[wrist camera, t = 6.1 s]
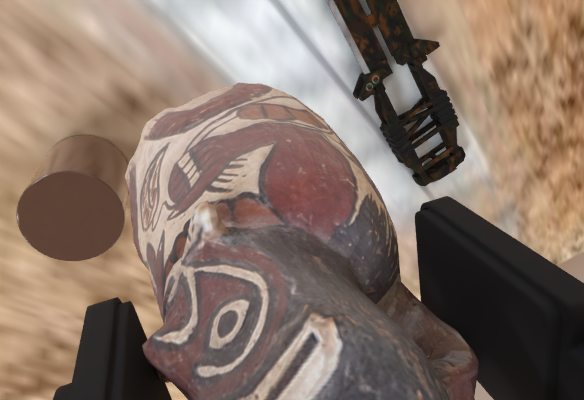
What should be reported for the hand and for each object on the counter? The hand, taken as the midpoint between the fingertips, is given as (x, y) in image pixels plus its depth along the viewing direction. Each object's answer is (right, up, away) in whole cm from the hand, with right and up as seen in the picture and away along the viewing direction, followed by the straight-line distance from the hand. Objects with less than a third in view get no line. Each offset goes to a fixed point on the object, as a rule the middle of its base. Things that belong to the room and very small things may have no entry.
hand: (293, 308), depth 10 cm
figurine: (-2, +3, +6) cm, 7 cm away
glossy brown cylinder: (-13, +4, +20) cm, 24 cm away
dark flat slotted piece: (+5, +14, +22) cm, 26 cm away
